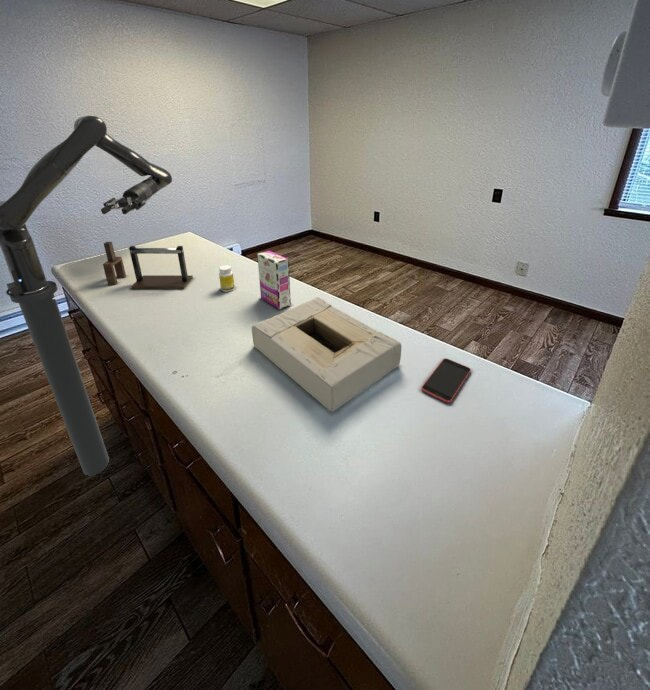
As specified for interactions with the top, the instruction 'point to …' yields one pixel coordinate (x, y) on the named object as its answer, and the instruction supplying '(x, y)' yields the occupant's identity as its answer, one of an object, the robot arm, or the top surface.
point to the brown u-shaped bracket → (112, 262)
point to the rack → (159, 280)
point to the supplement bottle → (226, 278)
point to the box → (326, 351)
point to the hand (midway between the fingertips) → (112, 212)
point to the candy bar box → (274, 279)
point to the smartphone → (446, 380)
